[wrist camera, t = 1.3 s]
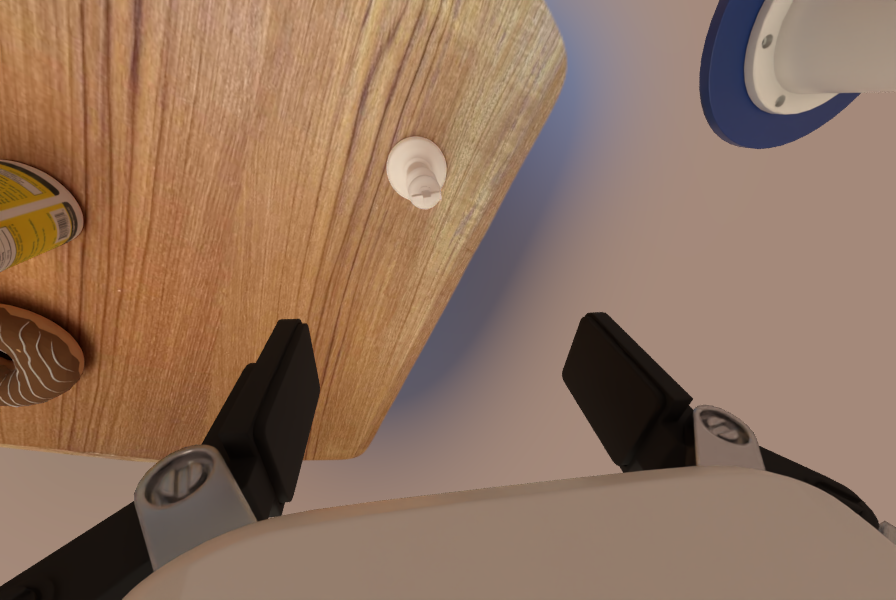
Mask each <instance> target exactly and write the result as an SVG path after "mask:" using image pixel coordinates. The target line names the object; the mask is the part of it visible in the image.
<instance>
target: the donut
mask: <svg viewBox="0 0 896 600" xmlns="http://www.w3.org/2000/svg"><path fill="white" fill-rule="evenodd" d="M0 351H2V352H4V353H6V354H8V355H9V356H10V357H11V358H12V360H13V361H10V360H7V359H5V358H2V357H0V406H13V407H21V406H30V405H33V404H39V403H44V402H46V401H49V400H51V399H53V398H55V397H57V396H59V395H61V394H63V393H65V392H66V391H68V390H70V389H71V387H72V386H73V385H74V384H75V383H76V382H77V381H78V380H79V379H80V376H81V375H82V373H83V370H84V356H83V352H82V350H81V348H80V346H79V345H78V343H77V342H76V341H75V339H74V338H73V337H72V336H71V335H70V334H69V333H68V332H66V331H65V330H64V329H63V328H61V327H60V326H59V325H57V324H56V323H54V322H53V321H51V320H49V319H47V318H45V317H43V316H41V315H38V314H36V313H34V312H31V311H28V310H25V309H22V308H18V307H15V306H11V305H5V304H0Z"/></svg>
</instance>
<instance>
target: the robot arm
mask: <svg viewBox="0 0 896 600" xmlns="http://www.w3.org/2000/svg"><path fill="white" fill-rule="evenodd" d="M744 78H745V85H746V89H747V93H748V95H749V97H750V98H751V100H752V102H753V104H755V105H756V106H757V107H758V108H759V109H760V110H762V111H765V112H768V113H770V114H783V115H786V114H798V113H801V112H805V111H808V110H811V109H813V108H815V107H817V106H819V105H821V104H823V103H825V102H827V101H828V100H830V99H831V98H833V97H834V96H836V95H837V94H839V93H865V92H896V0H765V1H764V3H763V5H762V7H761V9H760V11H759V13H758V15H757V18H756V20H755V23H754V25H753V28H752V31H751V34H750V37H749V41H748V45H747V49H746V55H745V63H744ZM562 377H563V380H564V382H565V384H566V386H567V387H568V389H569V390H570V392H571V394H572V395H573V397H574V399H575V400H576V402H577V404H578V405H579V407H580V408H581V410H582V412H583V413H584V415H585V417H586V418H587V420H588V421H589V423H590V425H591V426H592V428H593V430H594V431H595V433H596V434H597V436H598V438H599V439H600V441H601V443H602V444H603V446H604V448H605V449H606V451H607V453H608V454H609V456H610V457H611V459H612V461H613V462H614V463H615V464H616V465H618V466H620V468H621V469H622V471H623V473H618V474H608V475H600V476H590V477H581V478H571V479H563V480H554V481H546V482H536V483H527V484H520V485H519V484H518V485H510V486H501V487H493V488H483V489H475V490H466V491H458V492H449V493H441V494H432V495H424V496H416V497H407V498H400V499H391V500H382V501H374V502H367V503H360V504H353V505H346V506H338V507H330V508H323V509H316V510H310V511H304V512H299V513H294V514H288V515H283V516H281V515H282V511H283V508H284V504H285V502H290V501H291V500H292V498H293V495H294V492H295V487H296V484H297V480H298V476H299V472H300V468H301V464H302V460H303V457H304V453H305V449H306V445H307V441H308V437H309V433H310V429H311V425H312V421H313V418H314V414H315V410H316V406H317V402H318V398H319V393H320V384H319V379H318V374H317V368H316V363H315V358H314V353H313V348H312V343H311V338H310V333H309V327H308V325H307V324H306V323H305V324H302V322H301V320H300V319H281V320H279V321H278V322H277V324H276V326H275V328H274V330H273V332H272V334H271V336H270V337H269V339H268V341H267V343H266V345H265V347H264V349H263V351H262V352H261V354H260V356H259V358H258V360H257V362H256V363H250V364H248V365H247V366H246V367H245V369H244V370H243V372H242V374H241V375H240V377H239V379H238V381H237V382H236V384H235V386H234V388H233V390H232V391H231V393H230V395H229V397H228V398H227V400H226V402H225V404H224V405H223V407H222V409H221V411H220V413H219V414H218V416H217V418H216V420H215V421H214V423H213V425H212V427H211V428H210V430H209V432H208V434H207V436H206V437H205V439H204V441H203V443H202V444H201V445H193V446H189V447H185V448H182V449H180V450H177V451H175V452H173V453H171V454H169V455H168V456H166V457H164V458H163V459H161V460H160V461H158V462H157V463H156V464H155V465H154V466H153V467H152V468H150V469H149V470H148V471H147V472H146V474H145V475H144V476H143V478H142V479H141V480H140V482H139V483H138V486H137V488H136V490H135V493H134V501H133V502H132V503H130V504H129V505H127V506H126V507H124V508H122V509H121V510H119V511H118V512H116V513H115V514H113V515H111V516H110V517H108V518H107V519H105V520H104V521H102V522H100V523H99V524H97V525H96V526H94V527H93V528H91V529H90V530H88V531H86V532H85V533H83V534H82V535H80V536H78V537H77V538H75V539H74V540H72V541H71V542H69V543H68V544H66V545H65V546H63V547H61V548H60V549H58V550H57V551H55V552H53V553H52V554H50V555H49V556H47V557H46V558H44V559H43V560H41V561H40V562H38V563H36V564H35V565H33V566H32V567H30V568H28V569H27V570H25V571H24V572H22V573H21V574H19V575H17V576H16V577H14V578H13V579H11V580H10V581H8V582H7V583H5V584H3V585H2V586H0V600H896V527H894V526H893V525H891V524H889V523H888V522H886V521H884V522H882V523H880V524H879V523H878V520H877V518H876V516H875V515H874V513H873V511H872V510H871V509H870V508H869V507H868V506H867V505H866V504H865V502H864V501H862V500H861V499H860V498H859V497H858V496H857V495H856V494H855V493H854V492H853V491H851V490H850V489H849V488H847V487H845V486H844V485H842V484H840V483H838V482H836V481H834V480H832V479H830V478H828V477H826V476H824V475H822V474H820V473H818V472H815V471H813V470H811V469H809V468H807V467H804V466H802V465H800V464H798V463H796V462H793V461H791V460H789V459H787V458H785V457H782V456H780V455H778V454H776V453H774V452H772V451H769V450H767V449H765V448H763V447H761V446H759V445H758V442H757V439H756V437H755V434H754V432H753V431H752V430H751V429H750V428H749V427H748V426H747V425H746V424H745V423H744V422H743V421H741V420H740V419H739V418H737V417H736V416H734V415H733V414H731V413H729V412H727V411H725V410H723V409H721V408H718V407H714V406H709V405H701V406H697V407H696V408H695V409H694V410H693V409H692V408H691V407H690V406H689V404H690V403H691V401H692V400H693V398H692V397H691V396H690V395H689V394H688V393H687V392H686V391H685V390H684V389H683V388H682V387H681V386H680V385H679V384H677V382H676V381H674V380H673V379H672V377H671V376H669V375H668V374H667V373H666V372H665V371H664V370H663V369H662V368H661V367H660V366H659V365H658V364H657V363H656V362H655V361H654V360H653V359H652V358H651V357H650V356H649V355H648V354H647V353H646V352H645V351H644V350H643V349H642V348H641V347H640V346H639V345H638V344H637V343H636V342H635V341H634V340H633V339H632V338H631V337H630V336H629V335H628V334H627V333H626V332H625V331H624V330H623V329H622V328H621V327H620V326H619V325H618V324H617V323H616V322H615V321H614V320H612V318H611V317H610V316H609V315H608V314H606V313H603V312H595V313H587V314H586V315H585V317H583V318H582V319H581V321H580V323H579V326H578V329H577V332H576V334H575V337H574V340H573V343H572V346H571V349H570V351H569V354H568V357H567V360H566V363H565V366H564V368H563V371H562ZM269 517H274V518H270V519H268V518H269Z"/></svg>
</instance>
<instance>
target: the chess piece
mask: <svg viewBox="0 0 896 600" xmlns="http://www.w3.org/2000/svg"><path fill="white" fill-rule="evenodd" d="M386 169H387V176H388V179H389V182H390V184H391V185H392V187H393V188H394V190H395V191H396V192H397V193H398V194H399V195H401V196H402V197H404V198H406V199H408V200H410V201H411V202H412V203H413V205H415V206H416V207H418V208H420V209H429V208H432V207H434V206H435V205H436V204H437V203H438V202H439V200H442V197H441V188H442V186H443V185H444V182H445V179H446V174H447V166H446V161H445V157H444V155H443V153H442V151H441V150H440V148H439V147H438V146H437V145H436V144H435V143H434V142H432V141H431V140H429V139H427V138H424V137H419V136H413V137H408V138H405V139H403V140H401V141H399V142H398V143H397V144H396V145H395V146H394V147H393V148H392V150H391V152H390V154H389V156H388V159H387V166H386Z"/></svg>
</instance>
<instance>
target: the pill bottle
mask: <svg viewBox="0 0 896 600" xmlns="http://www.w3.org/2000/svg"><path fill="white" fill-rule="evenodd" d="M83 223H84V221H83V214H82V211H81V209H80V206H79V205H78V203H77V201H76V200H75V198H74V197H73V196H72V195H71V193H70V192H69V191H68V190H67V189H66V188H65V187H64V186H63V185H62V184H60V183H59V182H58V181H57V180H55V179H54V178H52V177H51V176H49V175H48V174H46V173H44V172H42V171H40V170H38V169H36V168H33V167H31V166H28V165H25V164H22V163H19V162H14V161H9V160H0V272H1V271H3V270H6V269H8V268H10V267H12V266H15V265H17V264H19V263H22V262H24V261H26V260H29V259H31V258H33V257H35V256H38V255H40V254H42V253H44V252H47V251H49V250H52V249H54V248H56V247H58V246H61V245H63V244H65V243H67V242H69V241H71V240H73V239H74V238H76V237H77V236H78V235H79V234H80V232H81V231H82V228H83Z"/></svg>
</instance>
